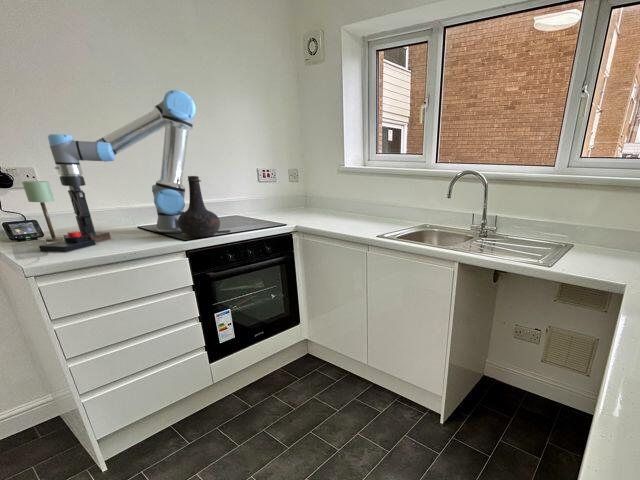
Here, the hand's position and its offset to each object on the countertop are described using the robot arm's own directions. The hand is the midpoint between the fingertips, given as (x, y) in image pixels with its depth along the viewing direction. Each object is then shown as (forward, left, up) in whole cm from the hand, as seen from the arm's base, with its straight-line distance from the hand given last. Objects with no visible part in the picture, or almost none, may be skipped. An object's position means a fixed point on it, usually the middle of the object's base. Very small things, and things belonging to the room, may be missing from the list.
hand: (87, 231), depth 153 cm
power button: (-2, +9, -1) cm, 9 cm away
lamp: (-2, +17, 0) cm, 18 cm away
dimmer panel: (+2, -2, -4) cm, 5 cm away
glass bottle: (-39, -19, -4) cm, 44 cm away
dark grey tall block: (0, 0, -1) cm, 1 cm away
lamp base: (-2, +12, -4) cm, 13 cm away
